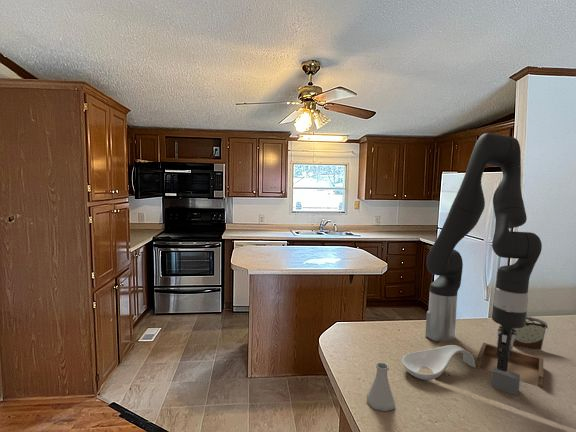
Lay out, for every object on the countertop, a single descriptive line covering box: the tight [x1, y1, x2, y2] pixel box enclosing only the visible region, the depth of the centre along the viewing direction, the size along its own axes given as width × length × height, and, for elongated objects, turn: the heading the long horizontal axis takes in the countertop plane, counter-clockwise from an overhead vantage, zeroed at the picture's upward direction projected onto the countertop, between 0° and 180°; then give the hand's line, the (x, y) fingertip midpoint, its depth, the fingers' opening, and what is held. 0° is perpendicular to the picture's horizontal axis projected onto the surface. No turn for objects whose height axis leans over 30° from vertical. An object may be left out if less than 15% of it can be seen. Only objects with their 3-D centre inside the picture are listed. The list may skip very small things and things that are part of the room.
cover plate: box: [491, 367, 521, 396], centre depth 89 cm, size 12×11×6 cm
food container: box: [513, 315, 549, 351], centre depth 117 cm, size 12×6×10 cm, turn 84°
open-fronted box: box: [475, 342, 544, 388], centre depth 100 cm, size 16×13×4 cm
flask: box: [366, 361, 396, 412], centre depth 83 cm, size 7×7×10 cm
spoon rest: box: [401, 344, 477, 381], centre depth 99 cm, size 24×12×7 cm, turn 107°
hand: (503, 363), depth 89 cm, fingers open, 8 cm apart
